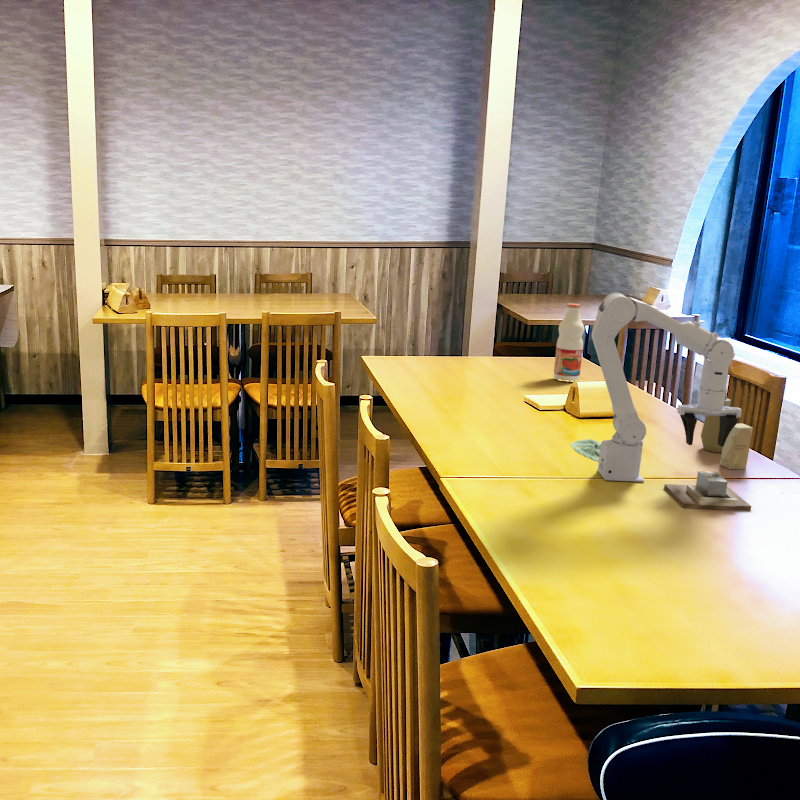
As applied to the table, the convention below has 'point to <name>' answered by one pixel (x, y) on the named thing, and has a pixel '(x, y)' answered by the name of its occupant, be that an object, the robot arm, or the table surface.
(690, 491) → the holder
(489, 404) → the table surface
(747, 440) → the box
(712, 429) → the squeeze bottle
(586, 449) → the cloth
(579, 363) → the fruit juice
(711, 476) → the block
